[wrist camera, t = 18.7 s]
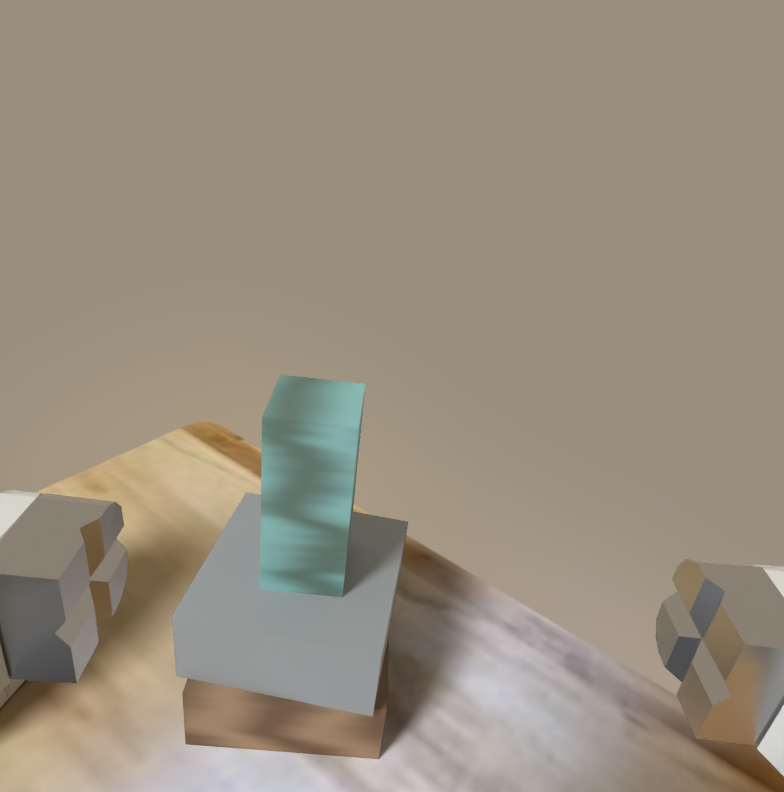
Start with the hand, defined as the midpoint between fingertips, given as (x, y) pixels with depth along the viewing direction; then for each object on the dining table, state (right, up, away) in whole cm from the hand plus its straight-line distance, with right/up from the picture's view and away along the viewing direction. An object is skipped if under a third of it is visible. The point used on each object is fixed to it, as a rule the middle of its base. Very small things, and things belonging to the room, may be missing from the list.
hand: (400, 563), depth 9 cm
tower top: (-6, -13, +34) cm, 36 cm away
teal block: (-6, -8, +31) cm, 33 cm away
